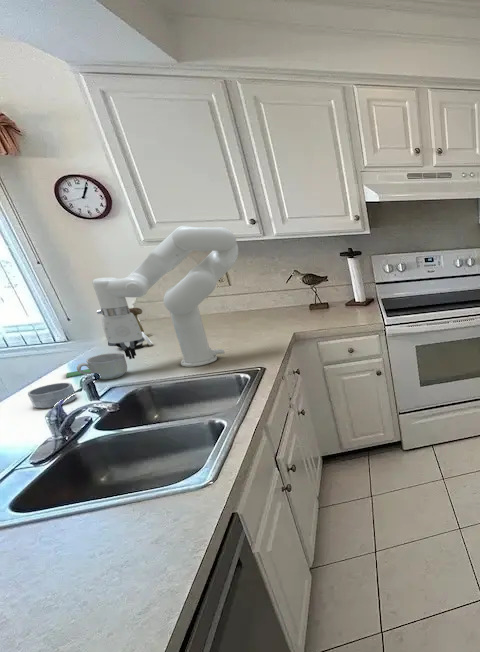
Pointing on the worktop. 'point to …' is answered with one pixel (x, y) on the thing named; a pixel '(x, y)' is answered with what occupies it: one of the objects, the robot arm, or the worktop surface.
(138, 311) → the mushroom
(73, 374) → the rag
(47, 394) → the grey bowl
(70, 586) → the worktop surface
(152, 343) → the spread jar
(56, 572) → the worktop surface
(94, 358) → the teacup
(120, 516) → the worktop surface
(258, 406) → the worktop surface
